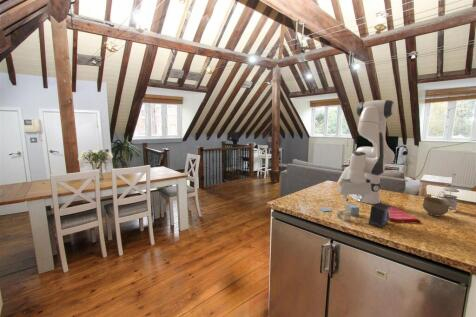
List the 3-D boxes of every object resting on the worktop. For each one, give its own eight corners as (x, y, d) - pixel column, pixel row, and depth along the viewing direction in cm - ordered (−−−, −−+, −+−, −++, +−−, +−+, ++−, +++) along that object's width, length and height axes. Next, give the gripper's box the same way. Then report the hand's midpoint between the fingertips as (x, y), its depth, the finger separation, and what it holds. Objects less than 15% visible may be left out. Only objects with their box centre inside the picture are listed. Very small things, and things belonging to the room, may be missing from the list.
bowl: (437, 220, 140) (440, 203, 138) (416, 212, 152) (418, 197, 150) (453, 218, 143) (455, 202, 141) (431, 210, 155) (433, 196, 154)
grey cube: (345, 212, 147) (346, 204, 146) (353, 212, 148) (354, 204, 147) (350, 215, 142) (351, 207, 141) (358, 215, 143) (359, 207, 142)
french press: (461, 213, 153) (468, 175, 149) (440, 211, 155) (447, 174, 151) (451, 208, 162) (457, 172, 158) (431, 206, 164) (437, 171, 161)
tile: (318, 208, 152) (318, 207, 152) (327, 208, 153) (327, 207, 153) (322, 211, 147) (322, 210, 146) (331, 211, 147) (332, 210, 147)
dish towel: (390, 222, 134) (391, 218, 134) (369, 208, 158) (370, 204, 157) (421, 224, 134) (422, 220, 133) (396, 209, 157) (396, 205, 157)
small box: (381, 228, 125) (383, 209, 124) (368, 224, 130) (370, 205, 129) (388, 223, 132) (391, 205, 130) (376, 219, 137) (378, 202, 135)
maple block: (336, 217, 138) (337, 209, 137) (343, 216, 140) (344, 208, 139) (343, 221, 134) (344, 212, 133) (350, 219, 135) (351, 211, 135)
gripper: (343, 179, 136) (340, 203, 138) (374, 180, 140) (371, 202, 142) (337, 177, 142) (334, 199, 144) (366, 178, 147) (363, 199, 148)
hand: (352, 201), depth 143 cm, fingers open, 8 cm apart
